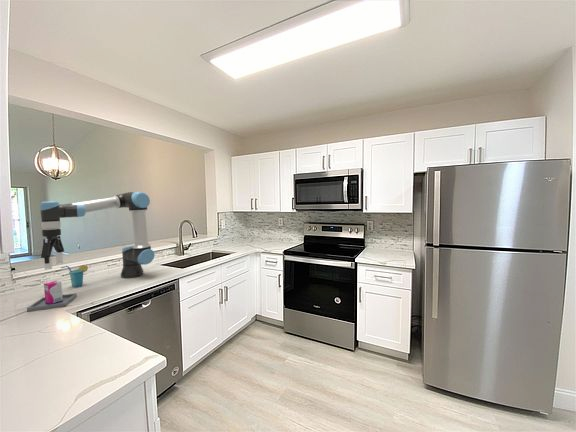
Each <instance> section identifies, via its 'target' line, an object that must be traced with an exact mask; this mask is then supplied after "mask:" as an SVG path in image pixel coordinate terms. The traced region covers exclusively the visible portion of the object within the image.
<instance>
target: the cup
mask: <svg viewBox="0 0 576 432" xmlns="http://www.w3.org/2000/svg"><path fill="white" fill-rule="evenodd" d="M64 268H65V269H66V268H67V269H68V274H69V277H70V278H69V279H70V281H71V282H70V283H71V287H72V288H73V287H74V288H79V286H80V287H82V286H83V283H84V273H85V272H88V269H89V267H88V266H87V265H85V264H82V265H80V266H79V267H78V269H75V270H72V269H71V267H70V266H68V265H65V266H61V267H60V269H64Z"/></svg>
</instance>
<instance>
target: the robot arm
mask: <svg viewBox="0 0 576 432" xmlns="http://www.w3.org/2000/svg"><path fill="white" fill-rule="evenodd" d="M150 204H151V199H150V197H149V195H148V194H147V193H145V192H144V191H130V192H124V193H120V194H115V195H112V197H103V198H99V199H98V198H97V199H91V200H84V201H78V202H70V203H64V204H63V203H62V204H60V203H59V201H53V200H52V201H42V202H40V206H39V207H40V208H39V210H40V218H41V223H40V225H41V229H42V230H41V233H42V234H41V235H42V236H43V237H45V238H43V240H42V241H43V242H42V243H43V244H42V249H41V255H40V257H41V259H42V258H43V263H44V265H43V266H44V270H52V269H53V266H52V265H53V264H52V263H53V262H52V257H51V255H52V251H53V248H54V250H55V261H56V264H64V260H63V253H65V249H64V245H63V243H62V238H61V236H62V229H61V219H63V218H80V217H85V215H86V213H91V212H97V211H102V210H108V209H112V208H113V209H114V208H116V209H120V208H122V209H123V208H125V209H126V208H128V211H129V212H130V213H131V218H132V228H133V230H132V231H133V239H134V240H133V242H134V245H131V246H126V247H125V246H124V247H123V248H122V251H121V253H122V269H121V272H120V278H122V279H132V278H134V279H135V278H137V277H141V276H143V275H144V274H145V273H144V268H143V266H142V265H148V264H149V265H150V264H151V263H152V261H154V259H155V256H156V255H155V251H154V250H153V249H152V247H151V244H149V237H148V227H147V218H146V215H147V214H146V212H147V211H148V206H149V205H150Z"/></svg>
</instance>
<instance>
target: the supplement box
mask: <svg viewBox="0 0 576 432" xmlns="http://www.w3.org/2000/svg"><path fill="white" fill-rule="evenodd" d="M43 292H44V297H45V303H46V304H49V305H50V304H55V303H58V302H62V301H63V297H62V295H63V285H62V281H60V280H53V281H49V282H45V283H43Z"/></svg>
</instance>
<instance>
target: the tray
mask: <svg viewBox="0 0 576 432" xmlns="http://www.w3.org/2000/svg"><path fill="white" fill-rule="evenodd" d="M77 295H78V294H77V293H75V292H74V293H68V294H62V297H63V301H62V302H58V303H55V304H50V305H49V304H46V303H45V296H43V297H41V298H40V299H38V300H36V301H35V302H33V303H32V304H31V305H29V306H28V307H26V313H29V312H35V311H42V310H49V309H50V310H52V309H56V308H64V307H67V306H68V305H69V304H70V303H71V302H73V300H75V299H76V298H77Z"/></svg>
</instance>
